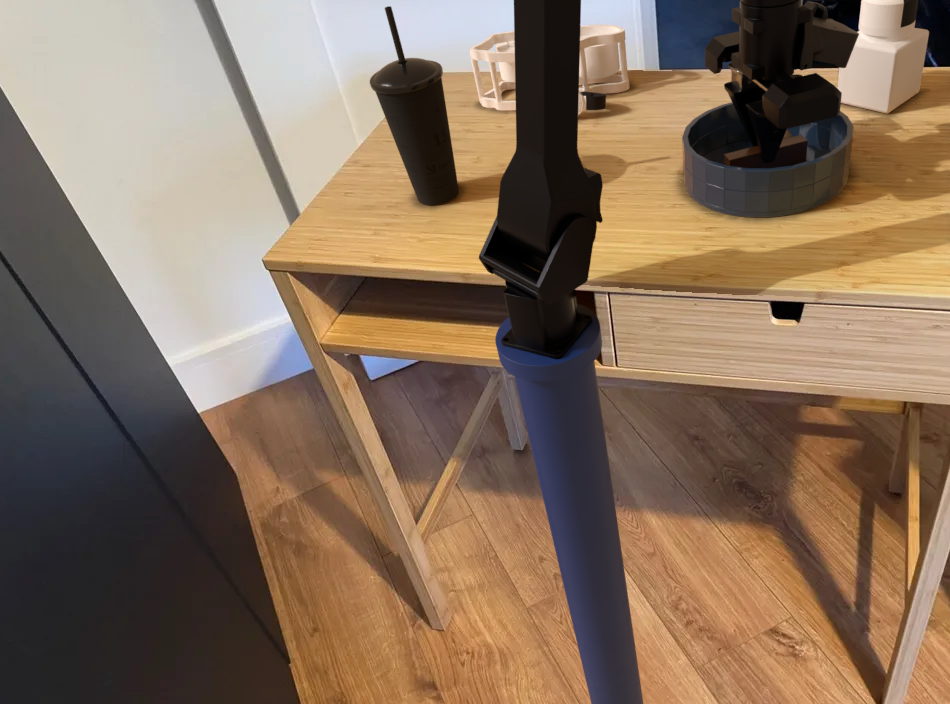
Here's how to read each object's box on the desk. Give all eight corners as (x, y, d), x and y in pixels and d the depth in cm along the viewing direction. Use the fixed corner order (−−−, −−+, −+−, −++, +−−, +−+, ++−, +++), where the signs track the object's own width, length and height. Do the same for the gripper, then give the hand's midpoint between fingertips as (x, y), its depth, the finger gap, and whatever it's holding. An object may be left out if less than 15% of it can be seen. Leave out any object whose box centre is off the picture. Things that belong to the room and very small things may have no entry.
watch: (544, 117, 105) (540, 89, 103) (559, 102, 108) (555, 74, 106) (600, 120, 103) (596, 91, 100) (613, 104, 106) (610, 76, 103)
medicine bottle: (867, 81, 102) (879, -26, 94) (920, 92, 98) (938, -18, 89) (834, 102, 99) (844, -6, 90) (887, 115, 95) (903, 2, 86)
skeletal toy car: (635, 73, 113) (631, 15, 108) (621, 107, 105) (616, 47, 100) (498, 79, 117) (487, 24, 112) (475, 112, 110) (463, 55, 105)
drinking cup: (393, 209, 93) (334, 21, 79) (426, 177, 98) (376, -6, 84) (451, 214, 90) (400, 21, 76) (482, 181, 95) (440, -7, 81)
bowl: (818, 229, 80) (822, 180, 76) (658, 203, 87) (655, 159, 83) (867, 149, 90) (873, 104, 86) (720, 133, 97) (720, 90, 93)
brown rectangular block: (806, 162, 87) (807, 140, 86) (729, 181, 86) (729, 160, 85) (799, 156, 89) (800, 134, 87) (723, 175, 88) (723, 154, 86)
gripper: (905, 6, 70) (881, 176, 81) (804, -44, 83) (794, 109, 94) (785, 34, 69) (777, 204, 80) (701, -21, 82) (704, 131, 93)
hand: (765, 158), depth 87 cm, fingers closed on brown rectangular block, 2 cm apart
